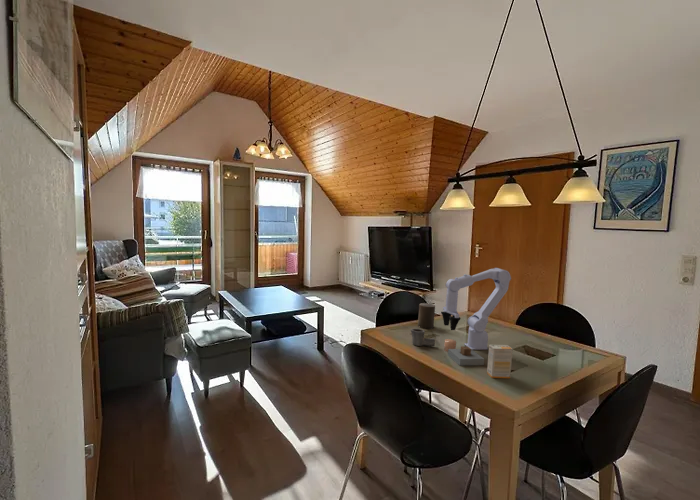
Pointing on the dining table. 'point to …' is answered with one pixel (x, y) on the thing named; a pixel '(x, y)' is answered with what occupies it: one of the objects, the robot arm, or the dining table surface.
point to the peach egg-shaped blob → (449, 344)
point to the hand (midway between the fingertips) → (449, 327)
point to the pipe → (421, 338)
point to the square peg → (465, 351)
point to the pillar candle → (426, 315)
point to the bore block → (465, 357)
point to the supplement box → (499, 361)
